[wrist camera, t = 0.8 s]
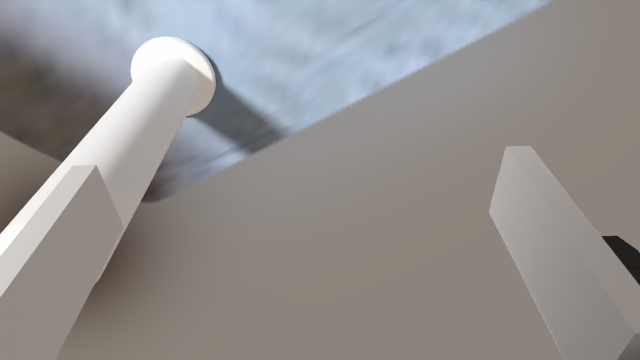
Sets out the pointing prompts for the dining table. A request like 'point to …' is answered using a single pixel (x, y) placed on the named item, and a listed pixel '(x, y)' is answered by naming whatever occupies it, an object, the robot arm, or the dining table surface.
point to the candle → (135, 128)
